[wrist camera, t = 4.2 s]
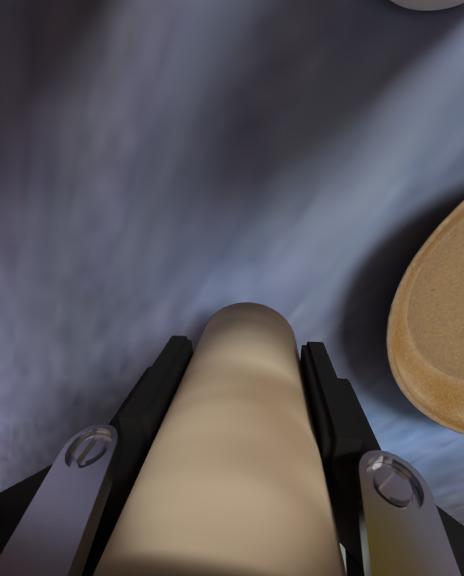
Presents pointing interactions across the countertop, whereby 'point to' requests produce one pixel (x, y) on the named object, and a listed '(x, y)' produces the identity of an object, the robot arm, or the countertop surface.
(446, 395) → the plant saucer
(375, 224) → the countertop surface
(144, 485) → the peg
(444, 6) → the supplement bottle
